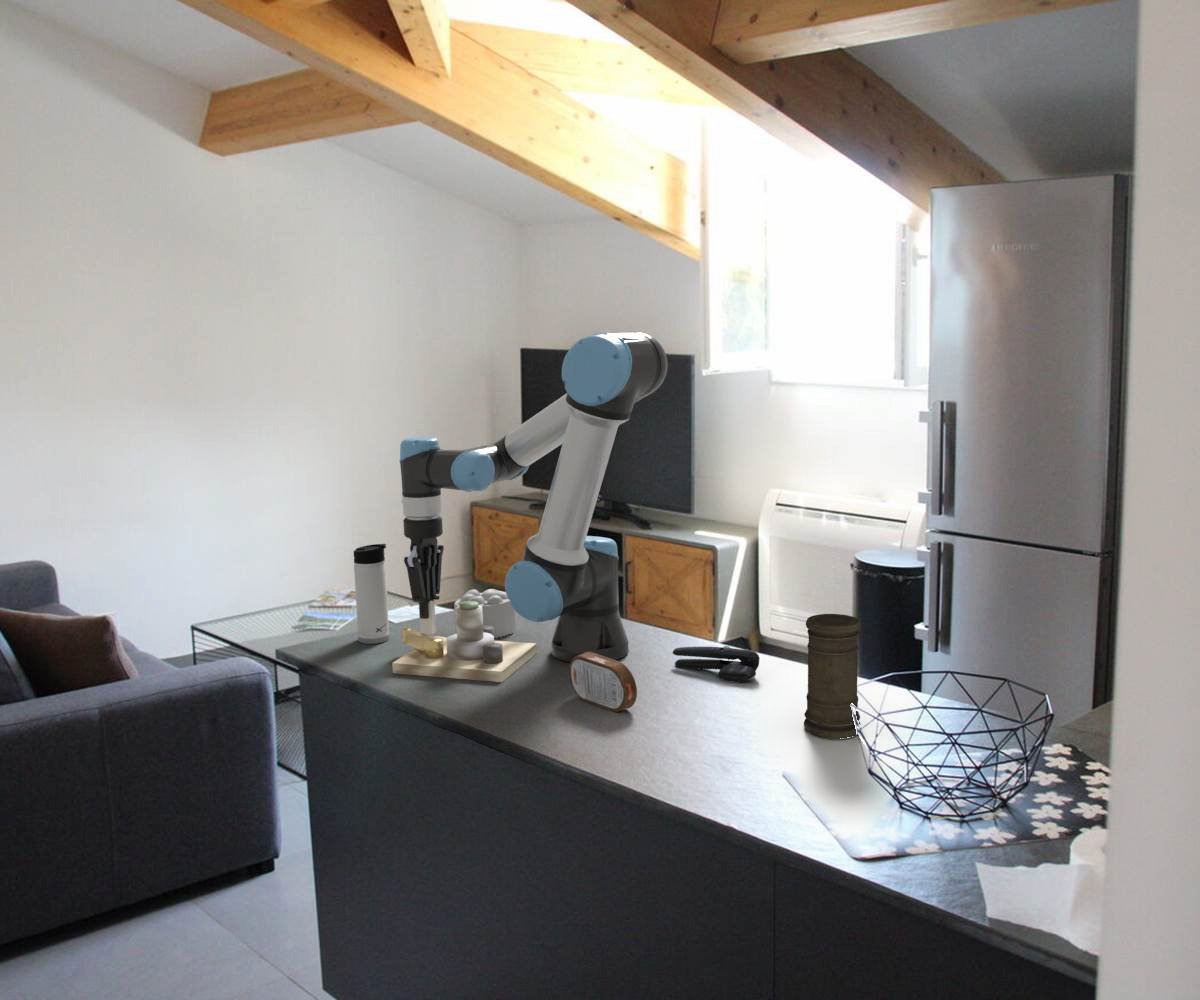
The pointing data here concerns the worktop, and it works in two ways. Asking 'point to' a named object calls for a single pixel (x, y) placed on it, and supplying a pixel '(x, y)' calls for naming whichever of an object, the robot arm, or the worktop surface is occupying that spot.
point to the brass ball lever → (423, 642)
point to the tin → (603, 681)
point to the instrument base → (466, 667)
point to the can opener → (721, 661)
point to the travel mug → (371, 594)
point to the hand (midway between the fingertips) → (428, 632)
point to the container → (832, 675)
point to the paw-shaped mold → (493, 610)
